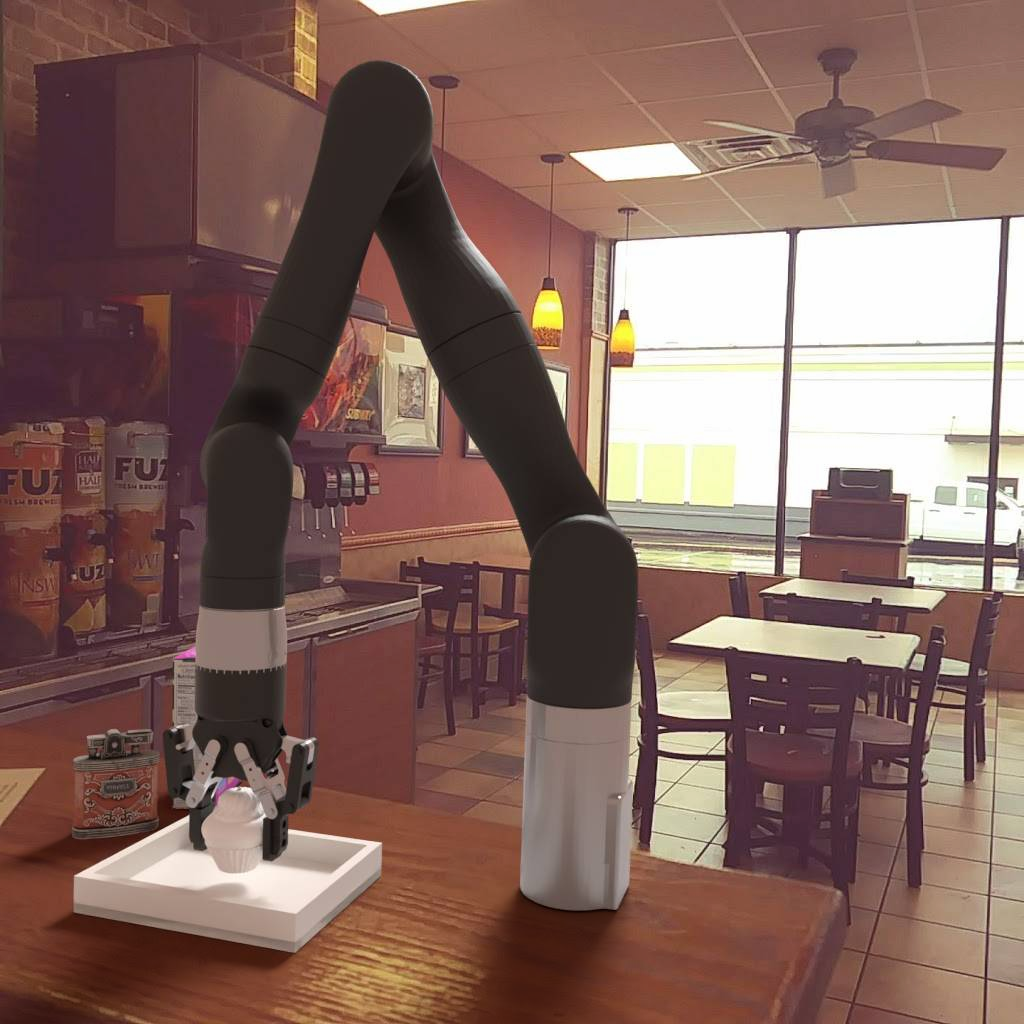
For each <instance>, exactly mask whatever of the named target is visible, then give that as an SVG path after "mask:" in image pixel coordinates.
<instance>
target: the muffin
mask: <svg viewBox="0 0 1024 1024" xmlns="http://www.w3.org/2000/svg"><path fill="white" fill-rule="evenodd" d="M265 817H267V816H266V815H265V812H264V810H263V807H262V805H261V802H260V800H259V797H258V796H257V795H255V794H254V793H253V792H252V789H251V787H246V786H243V787H242V786H240V785H238V786H236V787H235V788H230V789H228V790H226V791H224V792H223V793H222V794H221V795H220V796H219V798H218V805H217V806H216V807H215V808H214V810H213V812H212V813H211V814H210V815H209V816H208V817H207V818H206V819H205V820H204V822H203V824H202V827H201V831H202V835H203V838H204V839H205V845H206V846H207V848H208V850H209V852H210V854H211V856H212V857H213V859H214V861H215V863H216V865H217V867H218V869H219V870H220V871H223V872H225V873H232V874H234V873H235V874H237V873H245V872H249V871H251V870H254V869H255V868H256V867H257V866H258V864H259V862H260V860H261V858H262V851H263V818H265Z"/></svg>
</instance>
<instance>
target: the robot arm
mask: <svg viewBox="0 0 1024 1024" xmlns="http://www.w3.org/2000/svg"><path fill="white" fill-rule="evenodd" d="M323 126H324V127H323V129H322V130H323V131H322V135H321V141H320V143H319V144H320V145H319V150H318V153H317V157H316V161H315V165H314V171H313V172H312V173H313V174H312V178H311V180H310V184H309V187H308V191H307V194H306V197H305V199H304V200H305V201H304V204H303V206H302V210H301V212H300V216H299V219H298V221H297V223H296V226H295V229H294V232H293V234H292V237H291V239H290V242H289V244H288V247H287V248H286V252H285V255H284V256H283V260H282V261H281V264H280V265H279V266H280V267H279V268H278V271H277V273H276V275H275V278H274V281H273V283H272V284H271V285H272V286H271V288H270V290H269V293H268V295H267V298H266V299H265V301H264V304H263V306H262V309H261V311H260V313H259V316H258V319H257V321H256V323H255V326H254V329H253V331H252V333H251V335H250V338H249V341H248V343H247V346H246V348H245V349H244V350H245V351H244V354H243V357H242V361H241V364H240V367H239V370H238V373H237V376H236V379H235V381H234V382H233V385H232V387H231V388H230V391H229V392H228V395H227V396H226V398H225V401H224V402H223V404H222V406H221V408H220V410H219V412H218V414H217V415H216V417H215V420H214V422H213V424H212V426H211V429H210V431H209V433H208V435H207V438H206V439H205V442H204V445H203V446H202V449H201V454H200V457H199V458H200V459H199V471H200V475H201V479H202V481H203V483H204V485H205V487H206V540H205V542H204V545H203V547H202V551H201V552H202V553H201V558H200V567H199V569H200V570H199V573H200V575H199V576H200V578H199V581H200V582H199V584H200V585H199V611H198V619H197V623H196V631H195V633H196V634H195V646H196V648H195V652H196V662H195V712H196V714H197V715H198V718H197V721H196V723H195V725H194V726H189V725H188V724H187V723H183V724H180V725H176V726H174V727H173V726H171V727H169V728H167V729H165V730H163V732H162V743H163V744H162V745H163V755H164V763H165V774H166V784H167V793H168V795H169V796H170V798H171V799H172V798H177V797H179V798H180V799H182V800H184V801H186V804H187V805H188V806H189V810H188V811H189V813H188V815H189V838H190V841H191V843H193V848H194V850H197V851H204V850H206V849H208V848H207V846H206V845H205V839H204V838H203V835H202V831H201V827H202V824H203V822H204V820H205V819H206V818H207V817H208V816H209V815H210V814H211V813H212V812H213V810H214V808H215V802H211V799H212V798H213V796H214V794H215V792H216V790H217V788H218V786H219V783H220V782H221V780H222V779H223V778H228V777H235V778H237V779H240V780H242V781H245V782H248V784H249V786H250V787H249V788H251V789H252V792H253V793H254V794H255V795H257V796H258V797H259V800H260V802H261V805H262V807H263V810H264V812H265V815H266V816H267V817H265V818H263V851H262V858H263V860H264V861H271V862H272V861H274V860H275V859H277V858H278V857H279V856H281V854H282V852H283V851H285V850H286V848H287V845H288V829H289V815H293V814H295V813H297V812H298V811H300V810H301V809H303V808H305V807H306V806H308V805H309V804H310V803H311V801H312V800H311V798H312V794H313V786H314V779H315V774H316V773H315V772H316V767H317V760H318V752H319V740H318V739H317V738H316V737H313V736H312V737H311V736H310V737H308V738H305V739H302V738H297V737H294V736H292V735H291V736H290V735H289V734H288V730H287V728H286V725H285V723H284V717H285V712H286V707H287V704H286V703H287V670H288V669H287V660H288V657H287V656H288V626H287V625H288V624H287V618H286V606H285V605H286V578H287V577H286V576H287V575H286V554H285V553H286V540H287V537H288V529H289V524H290V523H289V522H290V518H291V517H290V515H291V509H292V508H291V507H292V502H293V491H294V460H293V456H292V452H291V446H292V443H293V441H294V438H295V436H296V434H297V431H298V429H299V426H300V424H301V421H302V419H303V416H304V415H305V413H306V411H307V410H308V409H309V408H310V407H311V406H312V405H313V403H314V402H315V401H316V400H317V397H318V395H319V394H320V392H321V390H322V387H323V386H324V383H325V380H326V379H327V376H328V374H329V371H330V368H331V366H332V363H333V361H334V358H335V355H336V354H337V351H338V349H339V346H340V343H341V340H342V337H343V334H344V332H345V328H346V325H347V323H348V319H349V317H350V314H351V310H352V307H353V306H352V305H353V303H354V299H355V295H356V292H357V288H358V286H359V281H360V279H361V273H362V270H363V268H364V267H363V266H364V263H365V259H366V256H367V253H368V251H369V247H370V244H371V242H372V239H373V237H374V234H375V236H377V238H378V240H379V242H380V244H381V246H382V248H383V250H384V251H385V254H386V257H387V258H388V259H389V262H390V264H391V267H392V270H393V272H394V274H395V275H394V276H395V278H396V280H397V285H398V287H399V290H400V292H401V296H402V298H403V301H404V304H405V306H406V309H407V311H408V314H409V317H410V319H411V321H412V324H413V326H414V328H415V331H416V333H417V336H418V339H419V341H420V343H421V345H422V348H423V351H424V353H425V355H426V358H427V359H428V361H429V363H430V366H431V367H432V371H433V372H434V374H435V375H436V378H437V380H438V382H439V385H440V386H441V389H442V391H443V393H444V395H445V397H446V398H447V400H448V402H449V403H450V406H451V408H452V410H453V412H454V413H455V415H456V417H457V418H458V420H459V421H460V424H461V425H462V427H463V428H464V430H465V431H466V433H467V434H468V437H469V438H470V439H471V441H472V442H473V443H474V446H475V447H476V449H478V450H479V453H480V454H481V455H482V457H483V458H484V459H485V461H486V463H488V465H489V467H490V468H491V469H492V471H493V473H494V474H495V476H496V477H497V479H498V480H499V482H500V484H501V485H502V488H503V489H504V492H505V493H506V495H507V498H508V501H509V503H510V505H511V507H512V510H513V513H514V514H515V518H516V520H517V522H518V525H519V528H520V530H521V534H522V536H523V540H524V542H525V545H526V547H527V550H528V554H529V558H530V559H529V560H530V561H529V567H528V568H529V569H528V571H529V572H528V586H527V588H528V589H527V590H528V591H527V626H526V627H527V629H526V639H527V640H526V654H525V655H526V658H525V659H526V700H525V701H526V702H525V705H526V706H525V729H524V730H525V731H524V734H525V735H524V757H523V759H524V761H523V762H524V764H523V789H522V790H523V793H522V795H523V796H522V822H521V823H522V825H521V849H520V850H521V851H520V852H521V853H520V854H521V855H520V864H519V867H520V868H519V871H520V878H519V879H520V883H519V884H520V885H519V886H520V890H521V892H522V894H523V895H524V896H525V897H526V898H527V899H528V900H531V901H533V902H534V903H536V904H540V905H543V906H545V907H549V908H553V909H557V910H558V909H559V910H566V911H592V910H600V909H601V910H602V909H603V910H604V909H605V910H606V909H607V910H613V911H614V910H616V911H617V910H618V909H619V906H620V905H621V903H622V901H623V899H624V896H625V894H626V892H627V891H628V888H629V885H630V875H631V871H630V870H631V847H632V845H631V844H632V843H631V841H632V821H633V820H632V819H633V817H632V816H633V793H634V784H633V780H632V779H629V775H630V746H631V724H632V723H631V722H632V721H631V720H632V717H631V716H632V698H633V695H632V694H633V681H634V672H635V666H636V665H635V662H636V645H637V644H636V643H637V642H636V641H637V640H636V639H637V625H638V623H637V620H638V602H639V601H638V600H639V563H638V559H637V558H638V557H637V554H636V551H635V549H634V547H633V545H632V543H631V542H630V540H629V538H628V537H627V535H626V534H625V533H624V531H623V530H622V529H621V527H619V525H618V524H617V522H616V521H615V519H614V518H613V517H612V515H611V513H610V512H609V510H608V509H607V507H606V506H605V504H604V502H603V501H602V499H601V497H600V496H599V494H598V492H597V490H596V488H595V487H594V485H593V484H592V482H591V479H590V478H589V476H588V475H587V473H586V472H585V471H586V470H584V468H583V465H582V463H581V461H580V459H579V458H578V456H577V453H576V451H575V449H574V446H573V443H572V441H571V438H570V434H569V431H568V428H567V425H566V422H565V418H564V415H563V412H562V409H561V405H560V401H559V399H558V397H557V393H556V391H555V388H554V385H553V382H552V379H551V377H550V374H549V371H548V369H547V366H546V364H545V362H544V359H543V356H542V354H541V351H540V349H539V347H538V345H537V343H536V341H535V338H534V336H533V334H532V332H531V330H530V328H529V325H528V324H527V320H525V317H524V315H523V313H522V311H521V309H520V306H519V305H518V303H517V301H516V299H515V297H514V296H513V294H512V292H511V290H510V289H509V287H507V285H506V283H505V282H504V281H503V279H502V278H501V276H500V275H499V273H497V271H496V269H495V268H494V267H493V266H492V264H491V263H490V262H489V261H488V260H487V259H486V257H485V256H484V255H483V253H481V251H480V250H479V249H478V248H477V246H476V245H475V244H474V243H473V241H472V240H471V239H470V238H469V236H468V234H467V233H466V231H465V230H464V229H463V226H462V225H461V222H460V221H459V219H458V217H457V214H456V212H455V210H454V208H453V205H452V203H451V201H450V198H449V196H448V193H447V191H446V188H445V186H444V183H443V179H442V178H441V175H440V172H439V169H438V166H437V163H436V160H435V156H434V153H433V152H434V149H433V142H434V141H433V140H434V130H435V129H434V128H435V127H434V126H435V119H434V112H433V105H432V102H431V98H430V95H429V93H428V91H427V90H426V87H425V85H424V84H423V82H421V80H420V79H419V78H418V76H417V75H416V74H414V72H412V71H411V70H410V69H409V68H407V67H405V66H403V65H402V64H401V63H400V64H399V63H396V62H393V61H390V60H382V59H377V60H368V61H365V62H363V63H360V64H357V65H356V66H354V67H352V68H350V69H348V71H346V72H345V74H343V75H342V76H341V77H340V79H339V80H338V81H337V83H336V84H335V85H334V87H333V88H332V91H331V93H330V96H329V99H328V102H327V107H326V114H325V121H324V125H323ZM195 743H196V744H197V746H198V748H199V750H200V751H201V753H202V755H203V758H202V760H201V762H200V764H199V766H198V769H197V771H196V773H195V766H194V756H193V747H194V746H195ZM283 751H284V752H285V755H286V756H285V757H286V758H285V762H286V763H287V764H289V769H288V776H287V781H286V784H285V779H286V777H285V773H284V771H283V768H282V766H281V764H280V761H279V758H278V757H279V756H280V755H281V753H282V752H283ZM265 774H266V777H265V776H264V775H265Z"/></svg>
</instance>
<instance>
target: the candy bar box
mask: <svg viewBox="0 0 1024 1024" xmlns="http://www.w3.org/2000/svg"><path fill="white" fill-rule="evenodd" d="M195 648H196V645H195V646H193V647H192V648H190V649H188V650H185V651H184V652H182V653H180V654H179V655H177V656H176V655H175V657H173V658H172V707H171V708H172V709H171V710H172V712H171V713H172V727H174V726H176V725H180V724H183V723H187V724H188V725H189V726H194V725H195V723H196V721H197V718H198V715H197V714H196V712H195V662H196V652H195ZM193 756H194V766H195V773H196V771H197V769H198V766H199V764H200V762H201V760H202V758H203V755H202V753H201V751H200V750H199V748H198V746H197V744H196V743H195V746H194V747H193ZM242 781H243V780H240V779H237V778H235V777H228V778H223V779H222V780H221V782H220V783H219V786H218V788H217V790H216V792H215V794H214V796H213V798H212V799H211V802H215V807H216V806H217V805H218V798H219V796H220V795H221V794H222V793H223V792H224V791H226V790H228V789H230V788H235V787H238V786H239V784H240V783H242ZM171 807H172V809H173V807H174V808H175V807H181V808H182V807H184V808H185V807H186V808H189V806H188V805H187V804H186V801H184V800H182V799H180V798H179V797H177V798H172V797H171Z"/></svg>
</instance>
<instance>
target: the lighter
mask: <svg viewBox="0 0 1024 1024" xmlns="http://www.w3.org/2000/svg"><path fill="white" fill-rule="evenodd" d="M153 742H154V732H153V731H152V729H150V728H144V729H130V730H127V732H120V730H118V729H116V728H112V729H108V730H107V731H106V732H105V734H93V735H87V736H86V747H87V753H88V754H87V755H86V754H85V755H79V756H76V757H75V758H73V763H72V764H73V765H72V766H73V767H72V768H73V769H74V807H73V808H74V811H73V813H74V818H73V821H74V822H73V823H74V824H73V825H72V828H71V837H72V838H73V839H77V840H88V839H90V840H92V839H102V838H103V839H104V838H112V837H114V838H115V837H122V836H127V835H128V836H129V835H134V834H141V833H147V832H151V831H155V830H156V828H157V827H158V828H159V821H160V820H159V816H158V782H159V780H158V779H159V778H158V776H159V775H158V774H159V772H158V771H159V762H160V761H161V752H160V751H159V750H155V749H140V748H141V747H140V745H143V744H144V745H145V744H152V743H153ZM125 746H130V750H127V749H126V748H125ZM100 748H101V749H100ZM98 750H99V753H98ZM158 828H157V829H158ZM152 829H153V830H152ZM154 829H155V830H154ZM150 830H151V831H150ZM140 832H141V833H140Z"/></svg>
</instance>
